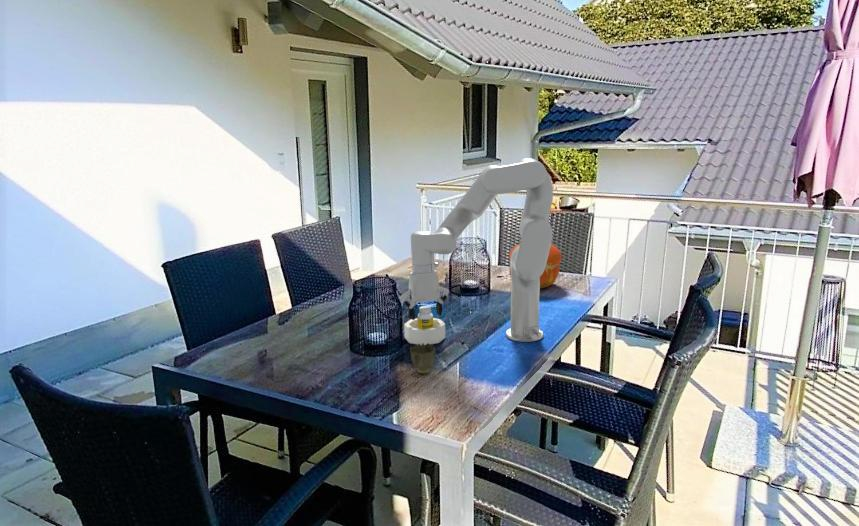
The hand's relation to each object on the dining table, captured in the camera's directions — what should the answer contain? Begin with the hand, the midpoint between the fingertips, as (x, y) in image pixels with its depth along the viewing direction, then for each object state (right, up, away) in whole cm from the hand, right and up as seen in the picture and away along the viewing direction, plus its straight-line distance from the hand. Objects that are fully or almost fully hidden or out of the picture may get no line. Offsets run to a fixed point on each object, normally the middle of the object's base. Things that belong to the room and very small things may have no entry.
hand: (425, 316), depth 202 cm
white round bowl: (0, -7, +2) cm, 8 cm away
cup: (-1, -14, -26) cm, 30 cm away
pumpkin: (+48, +8, +61) cm, 78 cm away
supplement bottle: (0, -7, +2) cm, 7 cm away
